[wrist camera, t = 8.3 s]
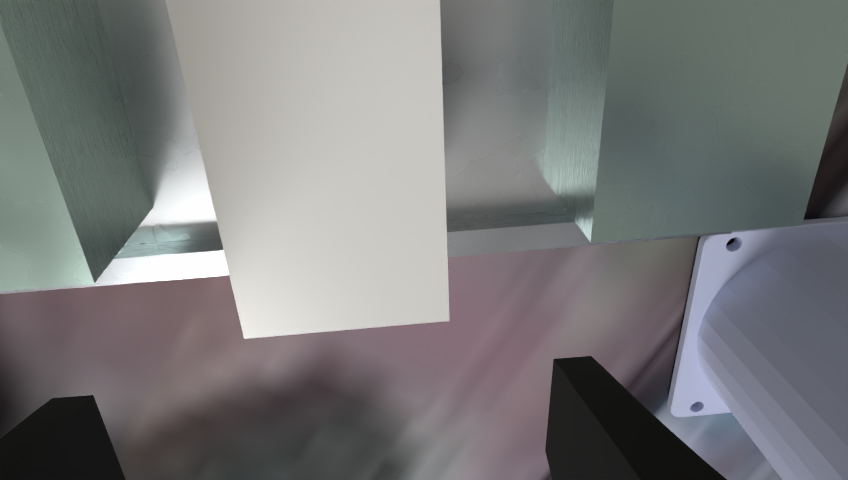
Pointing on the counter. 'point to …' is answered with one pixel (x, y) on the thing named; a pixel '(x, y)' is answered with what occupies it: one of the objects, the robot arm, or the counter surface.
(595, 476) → the robot arm
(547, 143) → the din panel
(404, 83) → the block
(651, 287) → the counter surface
